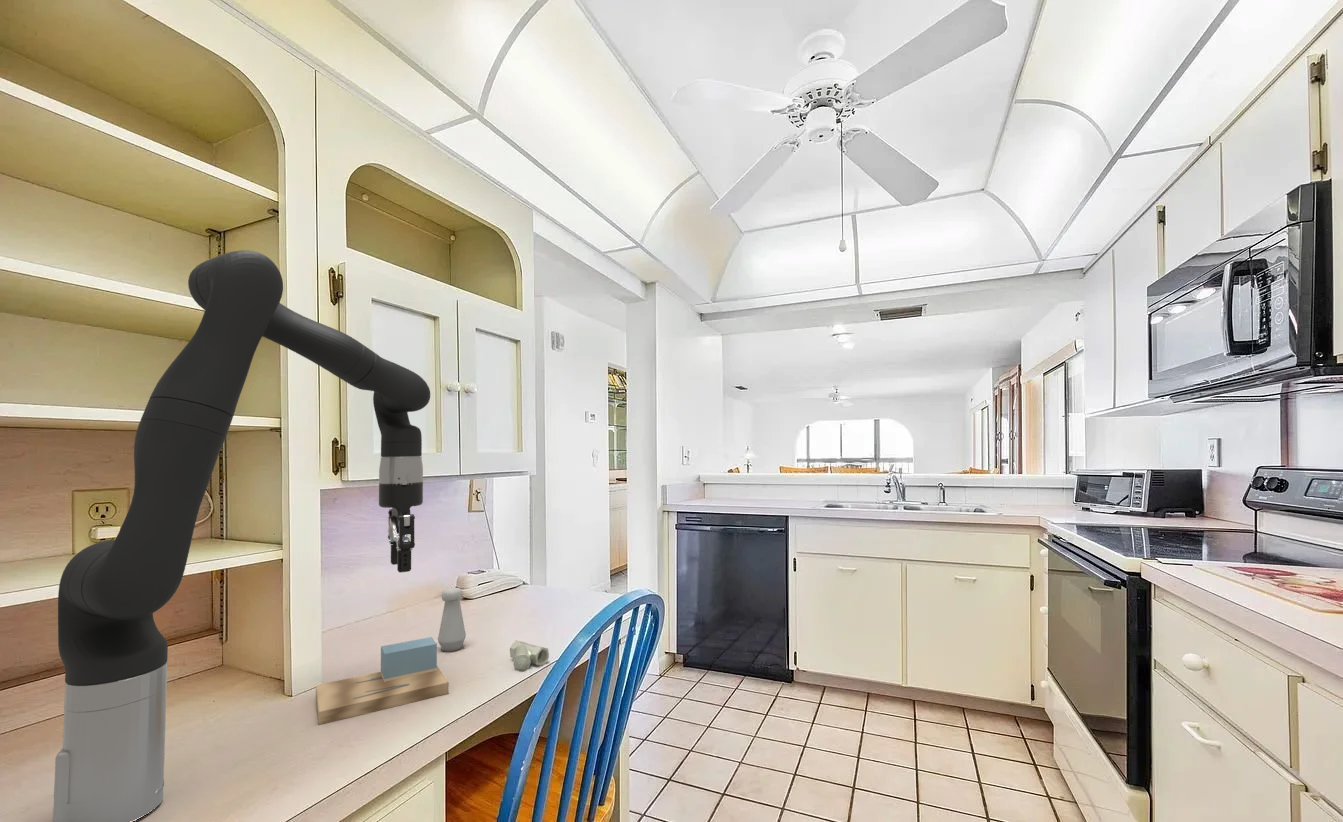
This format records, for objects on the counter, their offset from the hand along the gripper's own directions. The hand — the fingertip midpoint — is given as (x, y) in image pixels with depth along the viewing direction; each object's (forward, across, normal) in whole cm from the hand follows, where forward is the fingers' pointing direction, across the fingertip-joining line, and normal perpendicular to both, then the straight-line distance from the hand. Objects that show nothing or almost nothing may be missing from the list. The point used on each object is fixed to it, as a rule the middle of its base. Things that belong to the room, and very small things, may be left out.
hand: (400, 567), depth 108 cm
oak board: (+22, +1, -3) cm, 22 cm away
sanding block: (+20, -2, +2) cm, 20 cm away
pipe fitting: (+23, +2, +23) cm, 32 cm away
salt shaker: (+22, -17, +13) cm, 31 cm away
